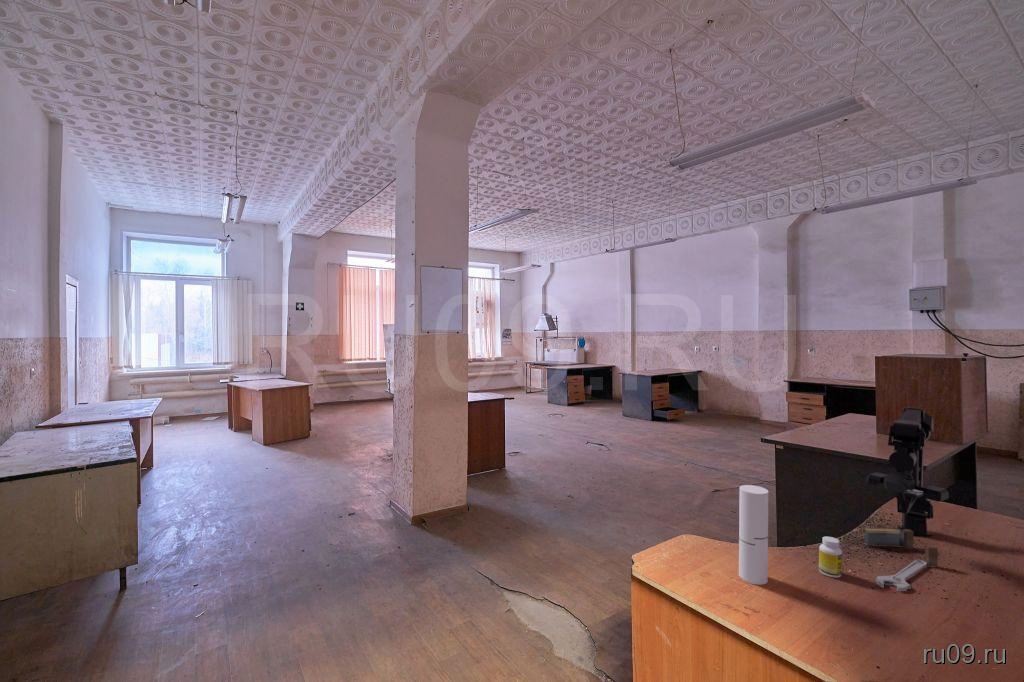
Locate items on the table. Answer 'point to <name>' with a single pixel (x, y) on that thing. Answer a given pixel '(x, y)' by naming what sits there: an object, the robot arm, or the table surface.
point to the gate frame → (930, 551)
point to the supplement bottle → (830, 557)
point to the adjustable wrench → (902, 576)
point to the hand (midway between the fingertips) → (905, 513)
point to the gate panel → (884, 537)
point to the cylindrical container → (753, 534)
